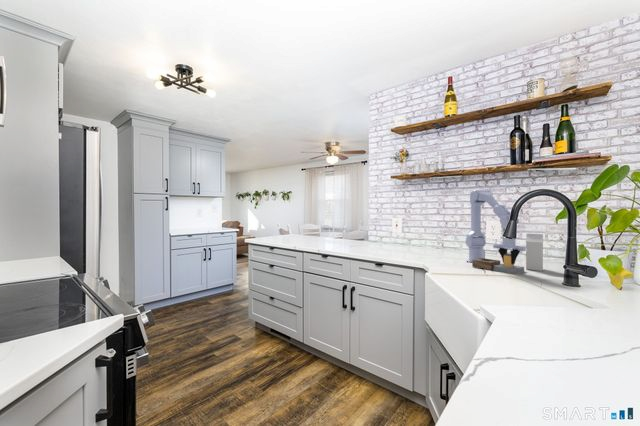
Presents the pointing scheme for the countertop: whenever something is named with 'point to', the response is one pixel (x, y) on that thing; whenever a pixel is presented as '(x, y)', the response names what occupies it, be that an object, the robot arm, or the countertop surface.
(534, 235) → the milk carton
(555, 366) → the countertop surface
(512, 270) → the lower jack
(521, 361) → the countertop surface
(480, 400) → the countertop surface
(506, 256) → the plug
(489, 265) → the upper jack
